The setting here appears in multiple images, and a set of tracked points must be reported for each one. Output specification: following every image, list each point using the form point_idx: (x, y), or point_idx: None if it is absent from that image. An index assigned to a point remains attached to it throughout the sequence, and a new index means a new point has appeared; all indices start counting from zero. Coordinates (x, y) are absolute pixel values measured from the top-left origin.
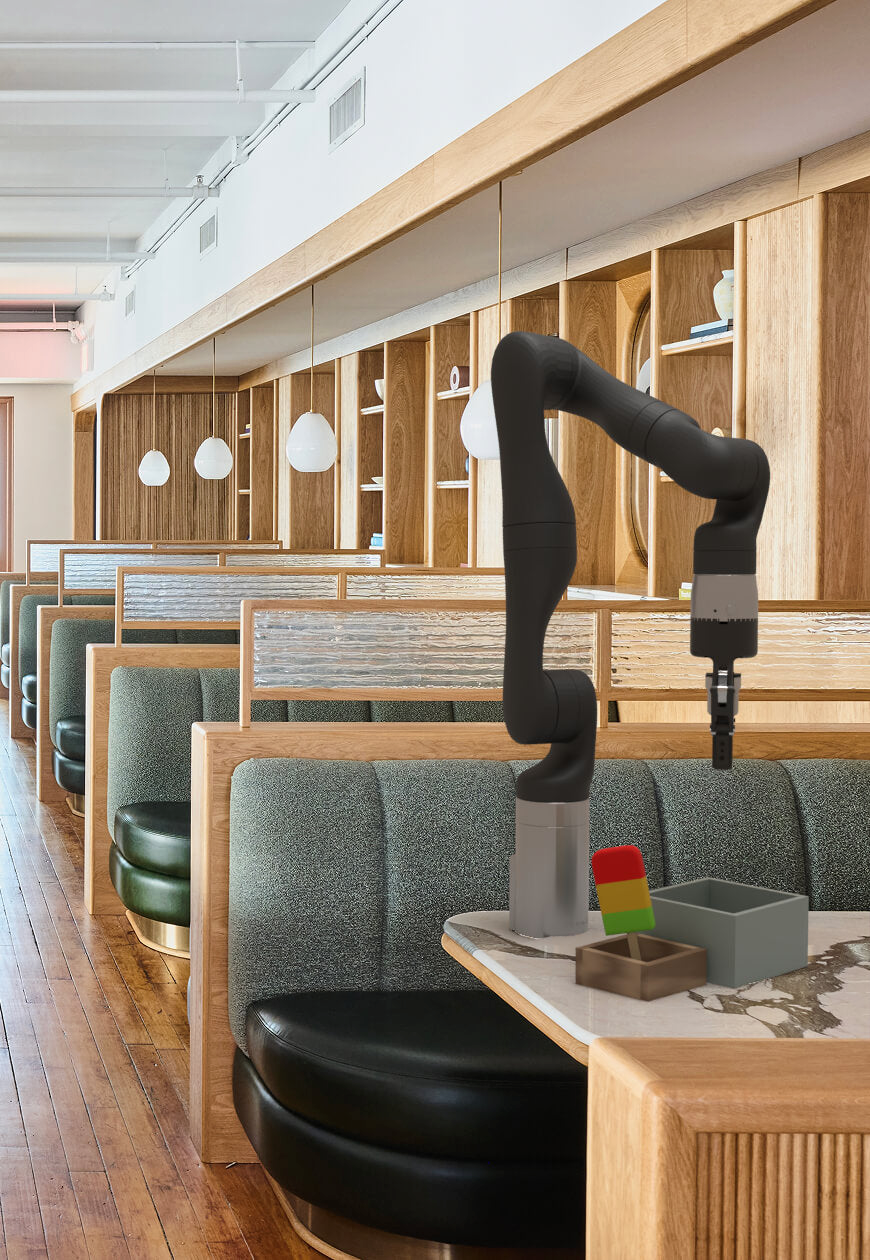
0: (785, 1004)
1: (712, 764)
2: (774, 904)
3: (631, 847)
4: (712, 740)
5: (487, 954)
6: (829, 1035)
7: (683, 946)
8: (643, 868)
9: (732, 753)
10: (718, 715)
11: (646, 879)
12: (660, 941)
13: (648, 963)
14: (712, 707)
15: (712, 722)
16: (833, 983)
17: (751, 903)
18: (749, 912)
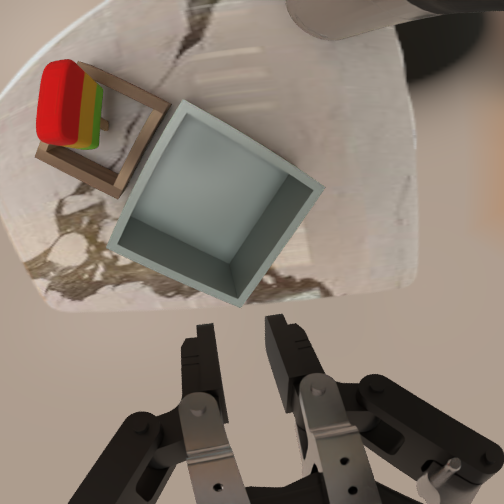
0: (99, 261)
1: (197, 329)
2: (184, 280)
3: (39, 130)
4: (201, 380)
5: None
6: (45, 295)
7: (120, 173)
8: (60, 144)
9: (273, 372)
10: (371, 413)
11: (71, 145)
12: (134, 143)
13: (43, 154)
14: (80, 492)
15: (110, 444)
16: (180, 291)
17: (269, 237)
18: (130, 259)
